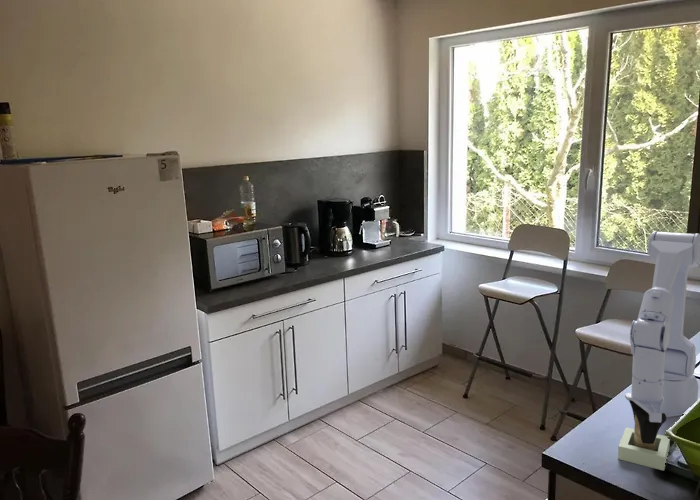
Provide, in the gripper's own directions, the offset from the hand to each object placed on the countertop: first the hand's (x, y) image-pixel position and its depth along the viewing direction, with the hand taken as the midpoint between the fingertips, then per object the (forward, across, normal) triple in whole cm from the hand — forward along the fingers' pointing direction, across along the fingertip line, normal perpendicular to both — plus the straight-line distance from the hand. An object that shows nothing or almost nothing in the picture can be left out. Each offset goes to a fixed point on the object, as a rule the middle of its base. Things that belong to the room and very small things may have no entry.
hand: (644, 436), depth 119 cm
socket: (+4, 0, 0) cm, 4 cm away
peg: (+2, 0, 0) cm, 2 cm away
